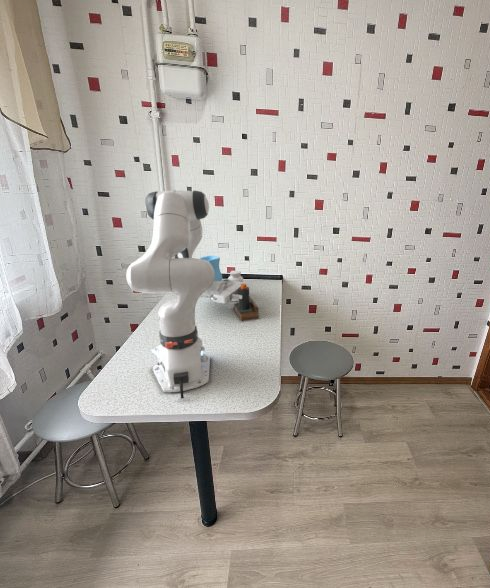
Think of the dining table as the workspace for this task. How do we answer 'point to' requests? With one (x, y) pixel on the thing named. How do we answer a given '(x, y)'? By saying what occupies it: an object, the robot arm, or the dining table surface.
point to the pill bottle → (235, 279)
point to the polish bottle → (244, 297)
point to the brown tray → (247, 311)
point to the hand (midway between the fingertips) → (245, 294)
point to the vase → (214, 266)
